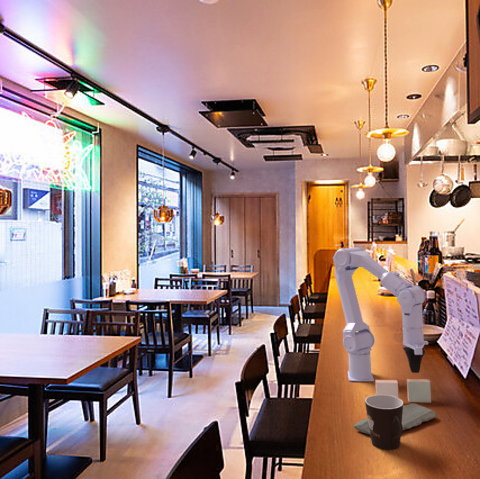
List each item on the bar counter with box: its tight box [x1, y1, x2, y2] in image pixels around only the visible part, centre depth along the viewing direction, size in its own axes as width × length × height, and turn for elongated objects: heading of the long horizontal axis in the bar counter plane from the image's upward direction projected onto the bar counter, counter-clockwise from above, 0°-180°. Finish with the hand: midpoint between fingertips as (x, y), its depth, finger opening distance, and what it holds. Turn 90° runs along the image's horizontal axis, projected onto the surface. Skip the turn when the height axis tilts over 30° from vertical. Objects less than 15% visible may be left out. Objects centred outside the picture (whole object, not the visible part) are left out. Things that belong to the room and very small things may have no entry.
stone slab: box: [353, 403, 437, 435], centre depth 114 cm, size 22×3×10 cm
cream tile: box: [374, 379, 399, 398], centre depth 129 cm, size 2×6×6 cm, turn 79°
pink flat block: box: [406, 378, 432, 403], centre depth 128 cm, size 2×6×6 cm, turn 79°
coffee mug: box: [364, 394, 404, 451], centre depth 103 cm, size 12×9×10 cm
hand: (414, 372), depth 133 cm, fingers closed
